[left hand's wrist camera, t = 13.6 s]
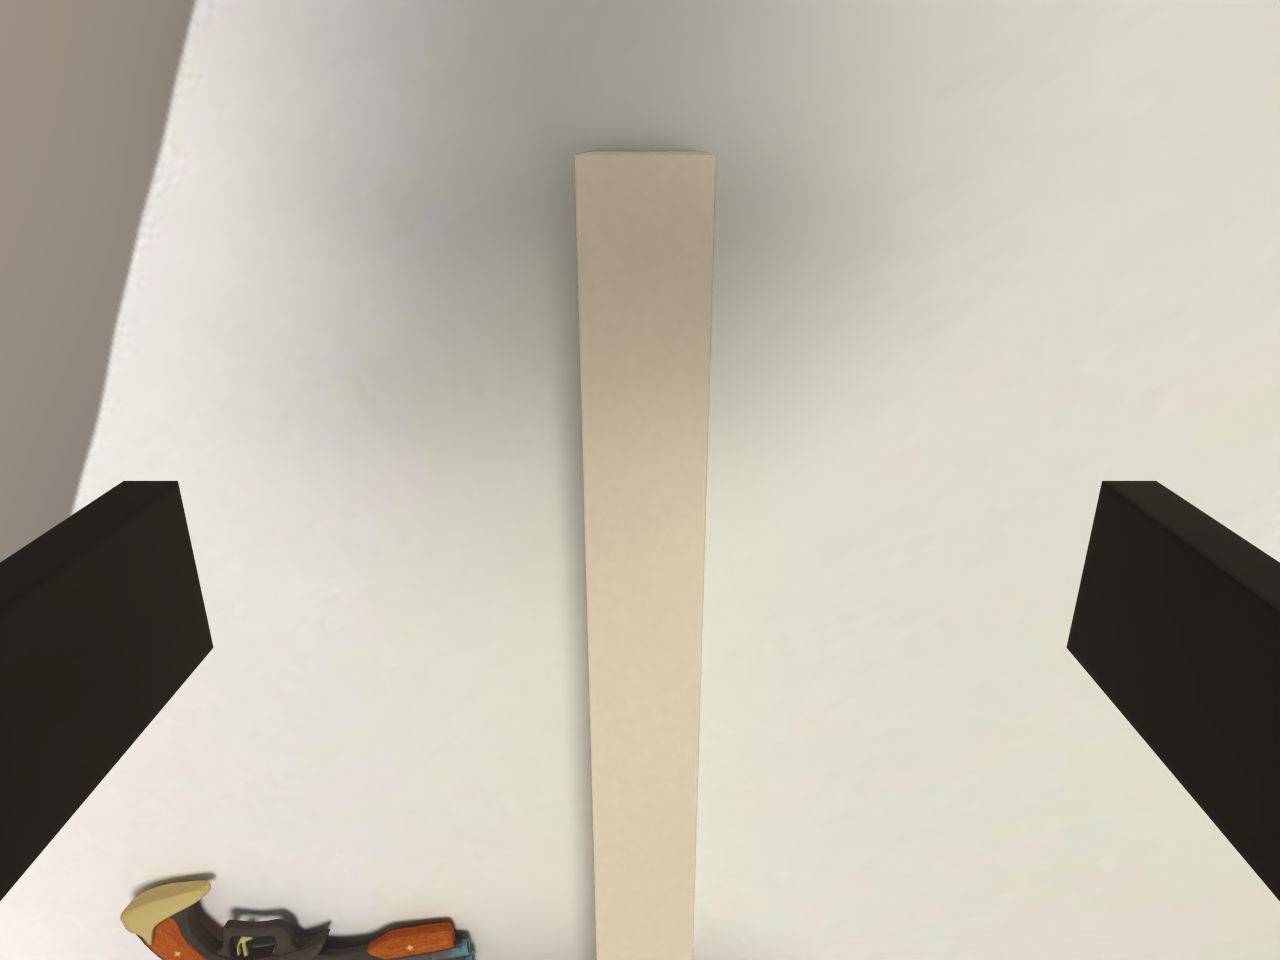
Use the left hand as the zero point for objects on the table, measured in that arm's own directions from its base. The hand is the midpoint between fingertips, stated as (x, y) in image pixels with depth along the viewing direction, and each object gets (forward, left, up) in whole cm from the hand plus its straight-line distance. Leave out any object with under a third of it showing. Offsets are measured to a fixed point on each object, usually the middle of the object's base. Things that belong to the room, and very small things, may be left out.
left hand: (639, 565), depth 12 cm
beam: (+18, +8, -27) cm, 34 cm away
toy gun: (+43, -3, -27) cm, 51 cm away
